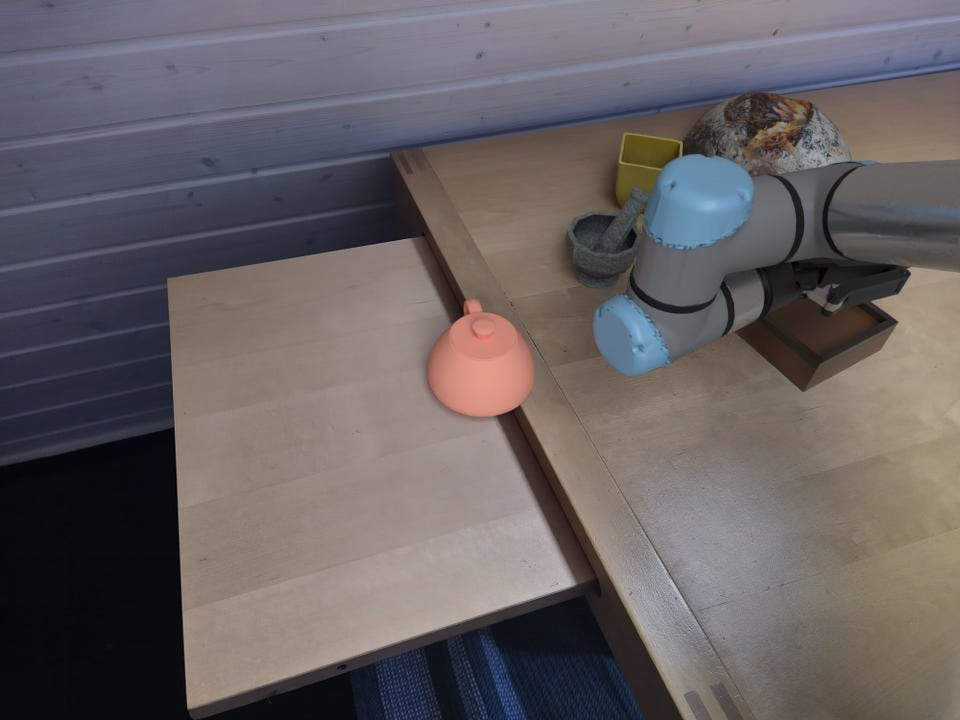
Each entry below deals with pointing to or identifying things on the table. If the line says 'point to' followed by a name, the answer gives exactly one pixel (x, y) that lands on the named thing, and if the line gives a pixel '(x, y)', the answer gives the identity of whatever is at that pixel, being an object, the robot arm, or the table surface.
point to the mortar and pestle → (605, 242)
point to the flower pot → (643, 163)
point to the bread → (768, 135)
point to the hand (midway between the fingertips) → (888, 219)
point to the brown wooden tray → (818, 339)
